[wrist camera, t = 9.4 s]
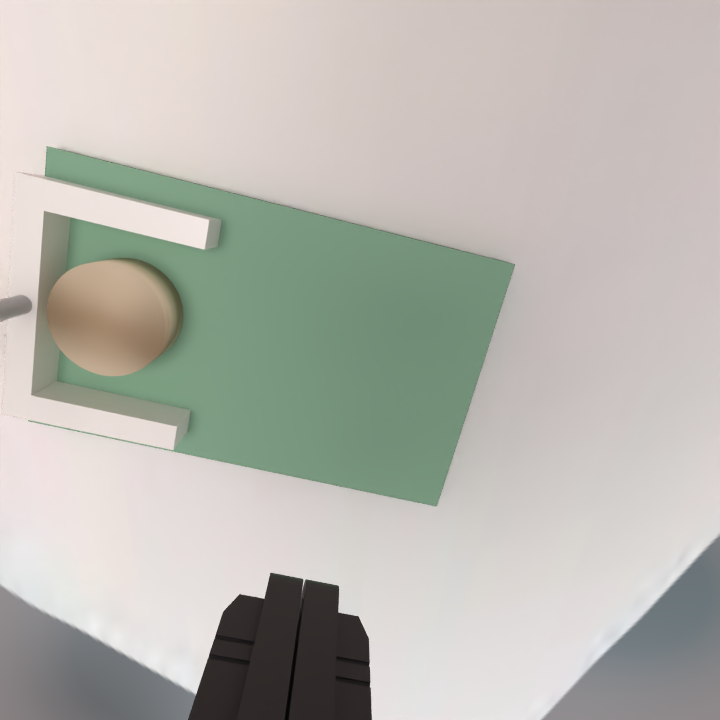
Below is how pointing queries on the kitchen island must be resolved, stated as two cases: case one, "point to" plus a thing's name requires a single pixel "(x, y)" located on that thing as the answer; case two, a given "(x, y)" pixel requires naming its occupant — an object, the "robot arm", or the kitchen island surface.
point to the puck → (114, 315)
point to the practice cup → (30, 297)
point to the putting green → (302, 336)
